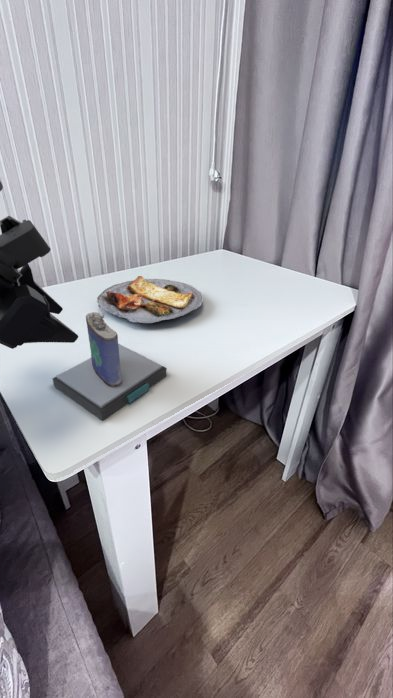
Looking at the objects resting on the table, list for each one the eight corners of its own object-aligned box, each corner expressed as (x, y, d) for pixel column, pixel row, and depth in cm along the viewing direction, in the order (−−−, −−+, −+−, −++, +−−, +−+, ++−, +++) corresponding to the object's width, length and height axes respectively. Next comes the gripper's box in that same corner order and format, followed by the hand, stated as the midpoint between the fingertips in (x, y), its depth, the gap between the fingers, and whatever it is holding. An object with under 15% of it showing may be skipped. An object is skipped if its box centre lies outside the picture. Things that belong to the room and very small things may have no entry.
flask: (125, 384, 52) (119, 324, 46) (107, 390, 50) (98, 329, 44) (104, 356, 58) (96, 299, 52) (87, 361, 57) (77, 303, 51)
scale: (104, 422, 48) (102, 410, 47) (54, 387, 54) (51, 375, 53) (168, 377, 57) (168, 366, 56) (119, 351, 64) (118, 341, 62)
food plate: (79, 305, 80) (77, 291, 78) (147, 279, 96) (146, 267, 94) (155, 340, 67) (155, 325, 65) (219, 304, 83) (220, 291, 81)
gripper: (-2, 214, 29) (127, 306, 40) (-14, 186, 42) (85, 260, 53) (-76, 313, 30) (70, 376, 41) (-66, 254, 43) (43, 314, 54)
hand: (68, 324), depth 47 cm, fingers open, 9 cm apart
